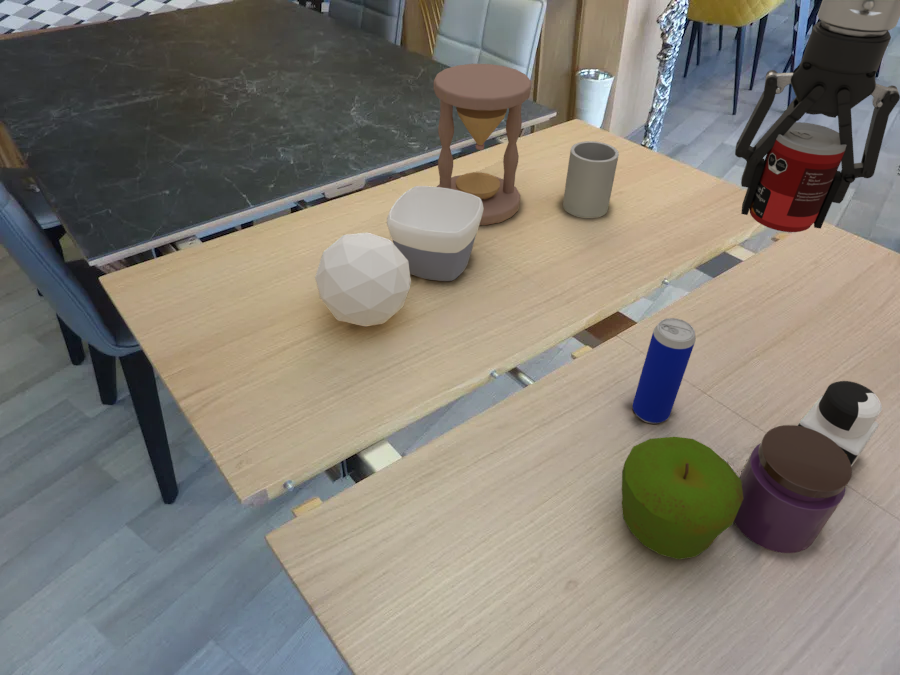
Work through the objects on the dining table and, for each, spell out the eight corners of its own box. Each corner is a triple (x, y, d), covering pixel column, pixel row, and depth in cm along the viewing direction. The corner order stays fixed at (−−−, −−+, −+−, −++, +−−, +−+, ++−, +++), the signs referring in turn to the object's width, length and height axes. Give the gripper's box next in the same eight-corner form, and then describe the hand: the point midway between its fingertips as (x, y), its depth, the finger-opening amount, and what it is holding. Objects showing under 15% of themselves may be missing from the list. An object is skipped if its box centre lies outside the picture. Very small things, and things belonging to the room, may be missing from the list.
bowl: (463, 296, 112) (465, 239, 105) (379, 277, 116) (375, 221, 108) (488, 248, 123) (492, 194, 116) (411, 233, 127) (410, 180, 119)
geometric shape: (388, 329, 113) (441, 265, 107) (351, 358, 99) (410, 287, 93) (325, 273, 113) (375, 206, 107) (280, 295, 100) (334, 219, 93)
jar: (814, 496, 82) (852, 436, 75) (818, 565, 75) (860, 506, 68) (730, 472, 85) (758, 412, 78) (726, 537, 78) (757, 477, 70)
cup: (608, 220, 132) (619, 164, 124) (562, 215, 133) (570, 159, 125) (607, 198, 138) (617, 143, 131) (563, 193, 139) (571, 139, 132)
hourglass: (517, 183, 142) (528, 64, 126) (522, 227, 129) (535, 99, 113) (435, 181, 142) (435, 61, 126) (431, 224, 129) (431, 96, 113)
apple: (594, 536, 77) (611, 476, 70) (634, 467, 85) (653, 406, 78) (700, 593, 72) (730, 535, 65) (732, 514, 80) (762, 454, 73)
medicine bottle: (779, 458, 87) (814, 393, 79) (802, 429, 91) (838, 365, 83) (834, 491, 83) (876, 426, 75) (856, 459, 87) (898, 395, 79)
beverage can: (673, 407, 93) (702, 325, 84) (663, 431, 90) (691, 348, 80) (638, 393, 95) (662, 311, 86) (626, 416, 92) (649, 333, 82)
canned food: (754, 196, 89) (782, 116, 82) (818, 213, 86) (853, 131, 79) (740, 221, 84) (769, 138, 77) (807, 240, 81) (844, 155, 74)
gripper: (748, 23, 70) (693, 214, 85) (973, 49, 64) (872, 248, 79) (751, 5, 75) (698, 187, 90) (959, 28, 70) (867, 218, 85)
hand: (780, 215), depth 85 cm, fingers closed on canned food, 8 cm apart
